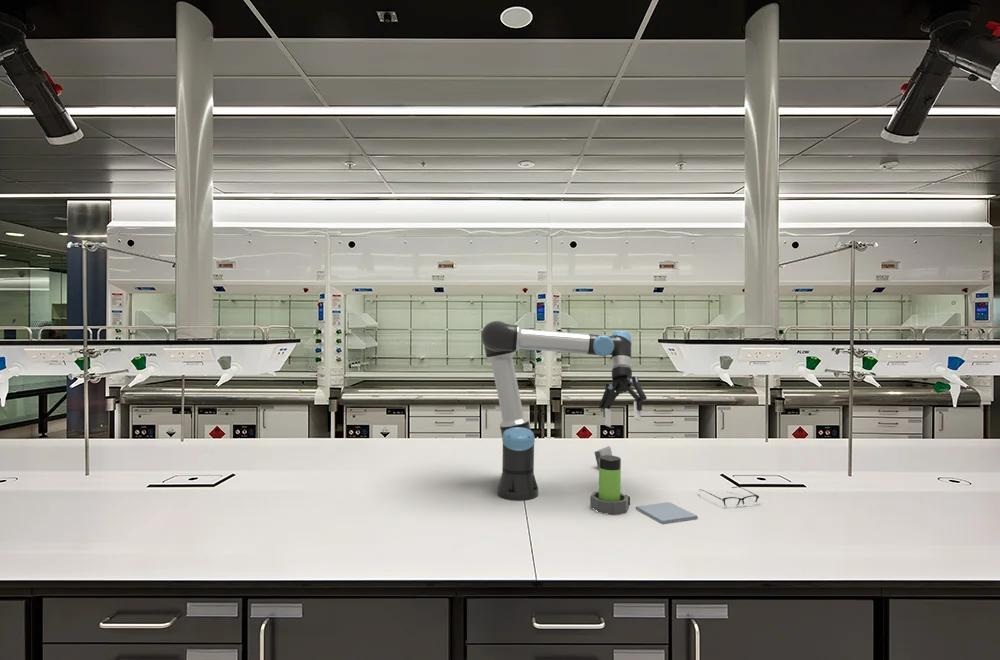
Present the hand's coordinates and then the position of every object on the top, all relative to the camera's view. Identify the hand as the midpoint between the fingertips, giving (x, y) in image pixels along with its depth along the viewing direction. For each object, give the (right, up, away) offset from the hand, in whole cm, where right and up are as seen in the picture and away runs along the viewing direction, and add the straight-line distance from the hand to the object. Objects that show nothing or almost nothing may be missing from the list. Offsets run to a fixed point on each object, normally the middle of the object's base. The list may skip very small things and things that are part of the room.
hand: (622, 422), depth 191 cm
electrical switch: (+1, -27, +38) cm, 47 cm away
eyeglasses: (+38, -28, -1) cm, 47 cm away
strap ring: (-7, -27, -12) cm, 31 cm away
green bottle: (-7, -27, -12) cm, 31 cm away
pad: (+11, -27, -17) cm, 34 cm away
